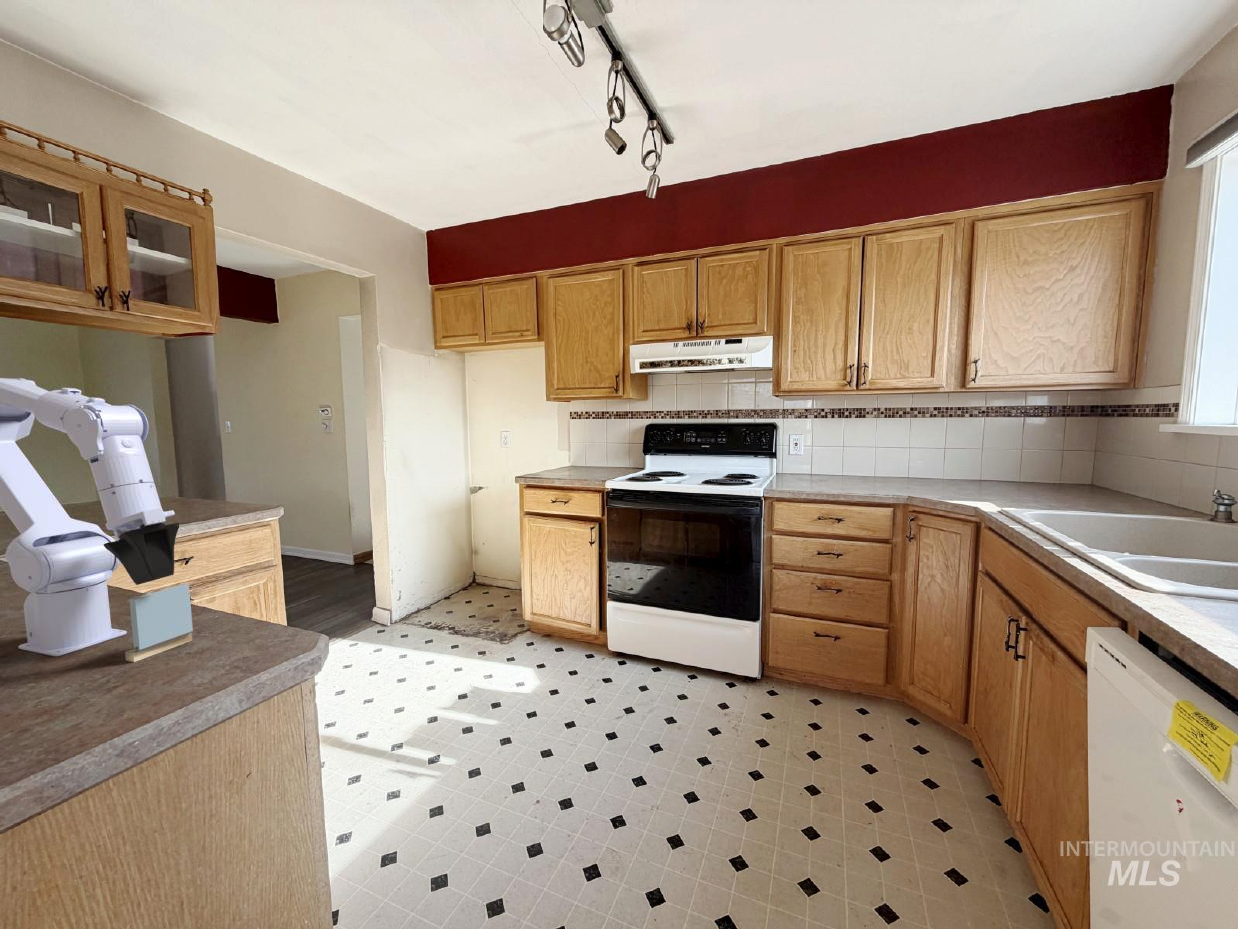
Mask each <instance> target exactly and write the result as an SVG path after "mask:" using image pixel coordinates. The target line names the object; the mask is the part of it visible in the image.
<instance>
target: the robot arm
mask: <svg viewBox="0 0 1238 929" xmlns="http://www.w3.org/2000/svg"><path fill="white" fill-rule="evenodd" d="M35 419H36V420H37V421H38V422H39V424H42V426H46V427H48V428H51V429H54V430H56V431H59V432H62V433H65V434H66V435H67V436H68V438H69V440H70V441H71V442H72V444H74V445H75V446H76V447H77V449H78V450H79V453H80V456H81V457H80V458H83V460H85V461H88V464H89V467H90V470H91V473H92V477H93V480H94V483H95V485H96V486H95V487H96V490H97V493H98V497H99V499H100V502H101V507H102V511H103V512H104V516H105V520H106V522H107V523H105V528H106V529H107V530H109V531H113V533H114V536H115V539H114V538H113V537H112V536H110V535H108V534H107V533H106V532H104V531H103V530H102V529H101V528H100V526H99V525H98V524H95V523H91V522H87V521H84V520H79V519H75V518H72V517H70V516H69V514H68V513H67V511H66V510H65V509H64V507H63V506H62V505H61V503H60V502H59V501H58V499H57V498H56V497H55V495H54V493H52V491H51V489H50V488H49V487H48V485H47V484H46V483H45V481H44V480H43V479H42V478H41V476H40V475H39V473H38V472H37V470H36V469H35V467H34V466H33V465H32V464H31V462H30V461H29V459H28V458H27V457H26V455H25V454H24V453H23V451H22V450H21V448H20V447H19V446H18V444H17V443H16V442H18V441H19V440H22V439H23V438H26V437H28V436H29V435H30V433H31V430H32V427H33V425H34V421H35ZM148 433H149V420H148V418H147V416H146V413H144V412H143V410H142V409H140V408H139V407H137V406H135V405H133V404H123V405H112V404H109V403H106V399H104V398H101V397H90V396H86V395H83V394H82V390H81V389H78V388H74V387H61V389H54V390H50V391H49V390H47V389H45V388H42V387H39V386H37V384H36V382H35V381H34V380H31V379H26V378H23V377H22V378H21V377H19V378H18V377H15V378H5V377H0V508H2V510H3V511H4V512H5V514H6V515H7V517H8V518H9V520H10V521H11V522H12V524H13V526H14V527H15V528H16V529H17V531H18V533H19V535H18V536H17V537H15V538H14V539H13V540H12V541H11V542H10V543H9V544H8V546H7V547H6V550H5V554H4V559H5V560H6V562H7V563H8V566H9V569H10V574H11V578H12V579H13V581H14V583H15V584H16V585H17V586H18V587H20V588H21V589H23V590H25V591H26V592H28V593H29V594H28V596H27V597H26V598H25V600H24V603H23V614H24V622H25V631H26V638H27V642H26V643H21V644H20V645H18V649H20V650H24V651H28V652H33V653H38V654H43V655H47V656H52V657H60V656H64V655H66V654H70V653H72V652H75V651H79V650H82V649H84V648H88V647H91V646H94V645H97V644H99V643H103V642H106V641H109V640H112V639H115V638H118V637H121V636H124V635H127V632H128V631H127V630H122V629H118V628H112V623H111V621H112V620H111V611H110V610H111V608H110V602H109V601H110V600H109V590H108V582H107V580H109V579H112V578H113V573H114V572H115V571H116V570H118V568H119V566H120V564H121V565H122V566H123V568H124V569H125V571H126V572H127V574H128V575H129V577H130V578H131V580H132V582H133V583H134V584H135V585H136V586H138V585H142V584H146V583H149V582H153V581H156V580H159V579H163V578H166V577H170V576H174V574H175V544H176V543H175V542H176V538H177V534H178V532H179V528H180V523H179V522H175V523H169V524H165V522H166V518H169V517H173V516H175V515H176V513H175V511H174V510H167V511H164V510H163V508H162V503H161V501H160V497H159V494H158V491H157V487H156V484H155V481H154V477H153V474H152V471H151V466H150V463H149V460H148V457H147V454H146V450H145V446H144V444H143V442H144V441H145V440H146V438H148V437H147V436H148Z"/></svg>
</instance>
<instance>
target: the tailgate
mask: <svg viewBox="0 0 1238 929" xmlns="http://www.w3.org/2000/svg"><path fill="white" fill-rule="evenodd" d="M190 592H191V591H190V584H183V583H182V584H180V585H175V586H172V587H168V588H165V589H162V590H158V591H153V592H150V593H147V594H143V595H140V596H136V597H133V598H129V600H128V601H129V609H130V622H131V630H132V642H133V649H135V651H136V652H140V651H142V650H145V649H148V648H151V647H154V646H156V645H159V644H162V643H165V642H167V641H170V640H173V639H176V638H178V637H181V636H184V635H187V634H189V633H192V634H193V631H194V628H193V626H194V625H193V619H192V618H193V616H192V606H191V595H190Z"/></svg>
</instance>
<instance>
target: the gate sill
mask: <svg viewBox="0 0 1238 929" xmlns="http://www.w3.org/2000/svg"><path fill="white" fill-rule="evenodd" d="M192 641H193V632H192V633H189V634H187V635H184V636H181V637H178V638H176V639H173V640H170V641H167V642H165V643H162V644H159V645H156V646H154V647H151V648H148V649H145V650H142V651H140V652H136V651H135V649H134V648H133V649H130V650H127V651H125V652H124V656H125V661H127V662H132V663H136V662H138V661H141V660H143V659H146V658H150V657H152V656H154V655H157V654H160V653H163V652H165V651H169V650H170V649H173V648H176V647H179V646H182V645H183V644H187V643H189V642H192Z"/></svg>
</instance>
